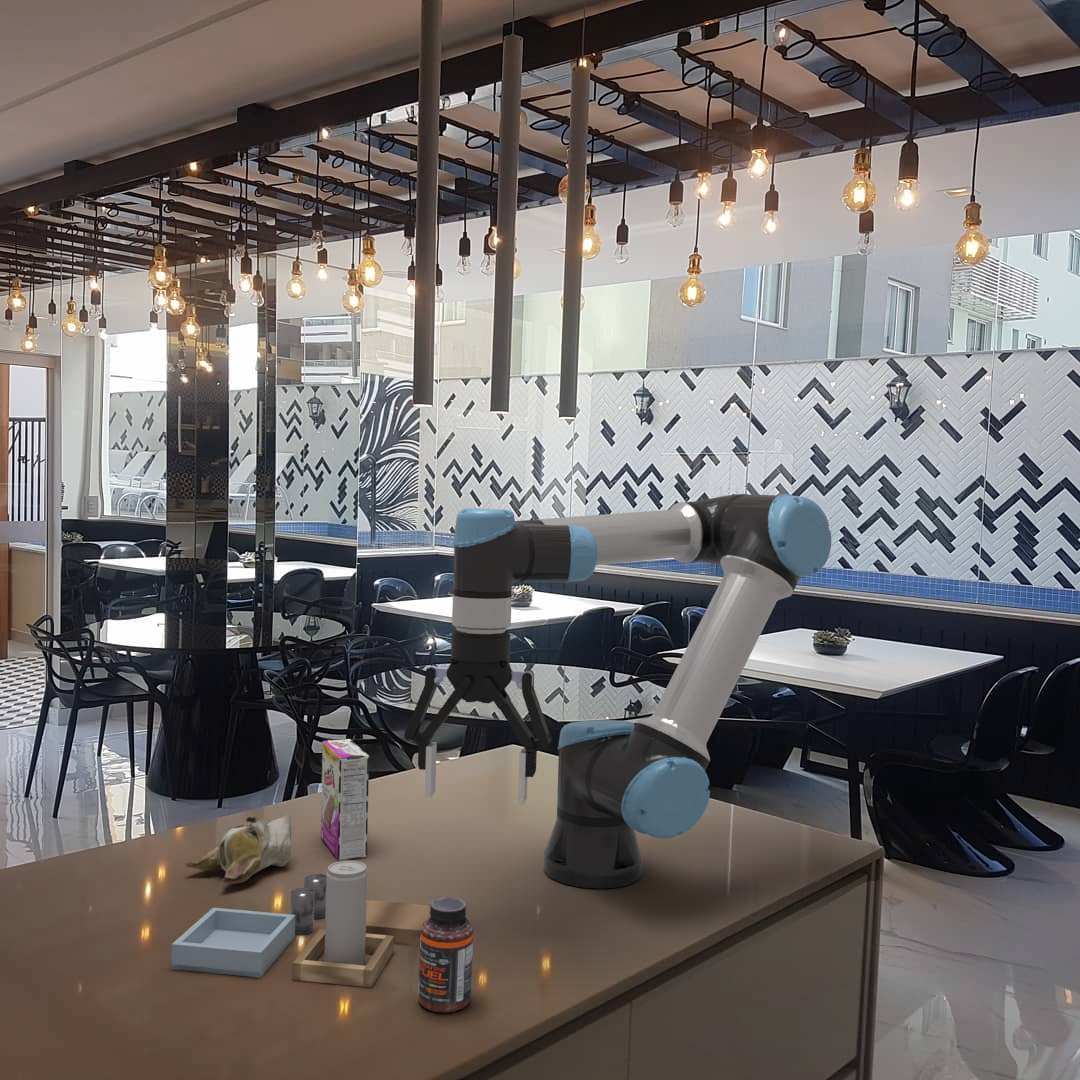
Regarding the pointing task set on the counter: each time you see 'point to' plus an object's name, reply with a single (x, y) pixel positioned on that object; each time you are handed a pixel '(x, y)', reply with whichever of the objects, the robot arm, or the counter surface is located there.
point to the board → (396, 920)
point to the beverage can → (346, 913)
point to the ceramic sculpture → (249, 849)
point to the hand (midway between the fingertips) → (475, 798)
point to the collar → (343, 973)
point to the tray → (233, 942)
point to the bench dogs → (309, 903)
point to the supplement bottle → (446, 957)
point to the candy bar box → (344, 799)
